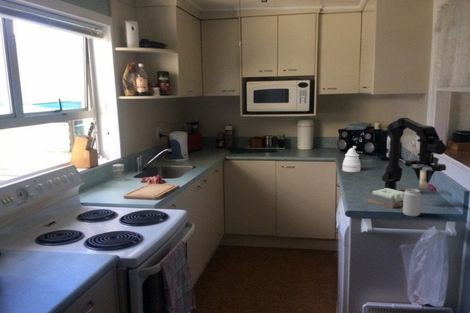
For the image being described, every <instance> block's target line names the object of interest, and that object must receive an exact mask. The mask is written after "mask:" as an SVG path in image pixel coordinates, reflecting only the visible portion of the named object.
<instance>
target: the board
mask: <svg viewBox="0 0 470 313" xmlns="http://www.w3.org/2000/svg"><path fill="white" fill-rule="evenodd" d="M365 195H366V198H365V201H366V202H369V203H370V204H376V205H379V206H383V207H386V208H388V209H396V208H399V207H403V201H399V202H395V199H393V198H389V197H385V196H381V195H377V194H373V193H372V192H366V194H365Z"/></svg>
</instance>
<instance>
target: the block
mask: <svg viewBox="0 0 470 313" xmlns="http://www.w3.org/2000/svg"><path fill="white" fill-rule="evenodd" d="M404 192H405V191H401V190H398V189H396V190H393V189H389V188H385V187H384V188H383V189H382V188H381V189H377V190H372V192H371V193H373V194H377V195H381V196H385V197H389V198H393V199H395V202H399V201H403V199H404Z"/></svg>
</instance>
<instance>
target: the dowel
mask: <svg viewBox="0 0 470 313" xmlns="http://www.w3.org/2000/svg"><path fill="white" fill-rule="evenodd" d="M426 170H427V169H422V170H420V181H418V182H419V183H418V184H419V186H418V187H419V188H418V190H420V191H428V190H429V183H427V177H426Z"/></svg>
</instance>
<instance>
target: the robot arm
mask: <svg viewBox="0 0 470 313" xmlns="http://www.w3.org/2000/svg"><path fill="white" fill-rule="evenodd" d="M406 129H409V130H411V131H413V132H414V133H415V135H417V137H419V138H418V139H417V140H416V142H417V143H418V142H419V151H418V153H417V156H418V159H406V161H405V162H404V166H406V167H409V168H410V167H411V169H412V170H413V172H414V173H415V176H416V178H417V180H418V182H420V170H423V169H424V168H428V169H425V170H426V177H427V183H428V184H429V183H430V181H431V180H432V176H433V175H434V174H435V173H436V172H444V171H447V166H446V164H443V163H439V159H440V158H438V157H436V156H434V155H435V154H436V155H443V154H444V153H445V152H446V150H447V146H446V144H445V143H444V141H443V139H440V136H439V135H438V132H437V131H436V128H435V126H434V125H426V124H421V123H419V122H417V121H415V120H413V119H411V118H409V117H399V118H398V119H397V120H395V121H393V122H391V123H389V124H388V125H387V127H386V132H387V136H388V137H389V139H390V140H389V157H388V158H389V161H388V165H387V167H386V168H385V172H384V174H383V175H382V176H381V180H382V182H384V188H389V189H393V190H397V185H398V184H397V182H400V181H401V179H402V177H403V176H402V175H403V168H402V167H401V166H400V165H399V163H400V145H401V144H400V141H401V138H402V137H403V135H404V131H405V130H406Z"/></svg>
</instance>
